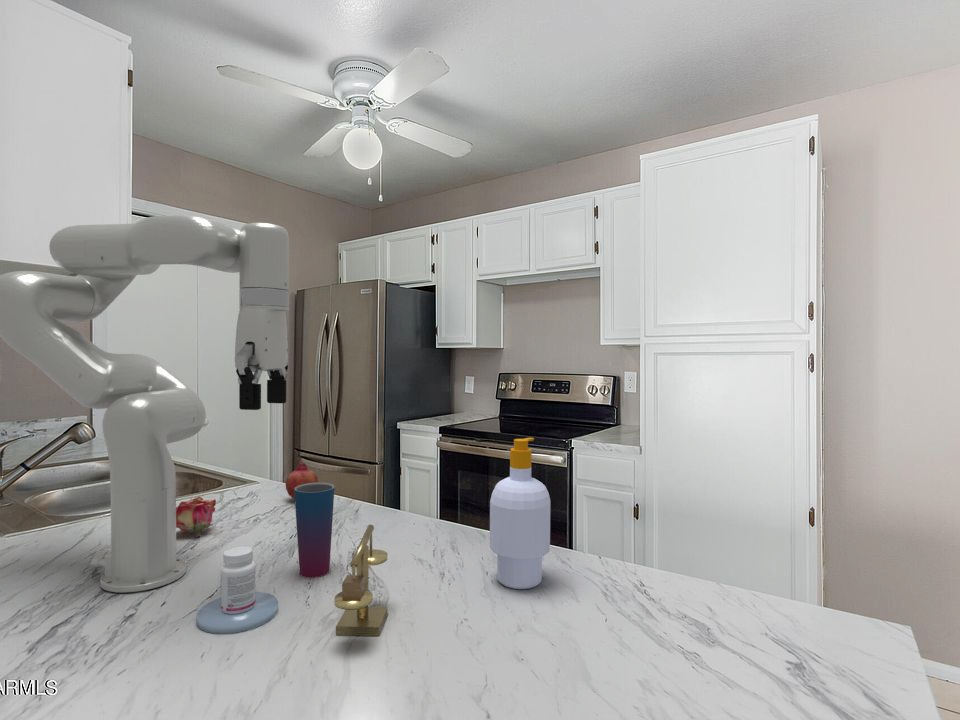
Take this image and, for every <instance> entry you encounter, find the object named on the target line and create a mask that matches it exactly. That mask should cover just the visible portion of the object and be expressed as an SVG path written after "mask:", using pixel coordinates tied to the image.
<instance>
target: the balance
mask: <svg viewBox="0 0 960 720" xmlns="http://www.w3.org/2000/svg"><path fill="white" fill-rule="evenodd" d="M374 530H375V526H374V525H373V524H369V525H367V527H366V529H365V532H364V534H363V536H362V538H361V540H360V542H359V545H358V546H357V547H356V551H355V553H354V554H353V557H352V559H351V561H350V563H349V565H350V567H351V574H349V575H346V576H345V578H344V579H343V580H342V582H341V583H342V585H341V589H342V590H341V591H339V593H336V595H334V601H333V603H334V606H335V607H336V608H338V609H341V610H344V611H343V614H342V615H341V616H340V618H339V620H338V622H337V623H336V625H335V635H336V636H362V637H364V636H365V637H366V636H367V637H379V636H380V635H381V632H382V629H383V627H384V625H385V623H386V620H387V617H388V615H389V609H388V608H389V607H388V606H370V605H371V604H372V602H373V600H374V599H373V593H372V591H370V590H369V588H370V587H369V574H370V573H369V567H372V566H379V565H381V564H384V563H385V562H387V560H388V552H387V551H385V550H383V549H375V548H374V549H373V533H374ZM368 544H369V545H368Z"/></svg>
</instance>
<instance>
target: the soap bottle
mask: <svg viewBox="0 0 960 720" xmlns="http://www.w3.org/2000/svg"><path fill="white" fill-rule="evenodd" d="M534 440H535V437H525V438H514V439H513V447H512V448H510V450H509V453H510V454H509V456H510V457H509V476H507V477H505V478H504V479H502V480H499V481H498V482H497V483H496V484H495V486H494V489H493V490H492V493H491V497H490V501H489V549H490V550H491V551H492V553H494V554H495V555H497V563H496V564H497V567H496V568H497V570H496V571H497V573H496V574H497V575H496V577H497V580H498V581H499V583H500V584H501V585H503V586H504V587H507V588H509V589H510V588H511V589H515V590H516V589H517V590H526V589H532V588H535V587H537V586H538V585H540V584H541V582H542V576H543V573H542V572H543V557H544V556H546V555H547V554H549V552H550V551H551V549H550V548H551V497H550V494H549V491H548V489H547V487H546V485H545V484H543V482H541V481H539V480H538V479H536V478H534V477H532V448H529V442H533V441H534Z"/></svg>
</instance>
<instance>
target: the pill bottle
mask: <svg viewBox="0 0 960 720" xmlns="http://www.w3.org/2000/svg"><path fill="white" fill-rule="evenodd" d="M253 553H254V552H253V548H252V547H250V546H245V545H244V546H235V547H230V548H228V549H227V550H225V551H223V554H222V555H223V558H222V560H223V564H222V565H221V567H220V597H221V610H222V611H223V612H224V613H227V614H238V613H242V612H245V611H248V610H250V609H251V608H253V607H254V605H255V603H256V596H255V592H256V563H255V561H254V560H253V559H254V554H253Z"/></svg>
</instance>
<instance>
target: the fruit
mask: <svg viewBox="0 0 960 720" xmlns="http://www.w3.org/2000/svg"><path fill="white" fill-rule="evenodd" d="M318 478H319V477H318V475H317V474H316V473H315V471H314V470H311V469H309V468H308V466H307V464H306V463H305V462H304V461H300V462H299V463H298V465H297V467H296V469H295V470H293V471H292V472H291V473H289V474H288V475H287V477H286V480H285V489H286V492H287V494H288V496H290V497H291V498H292V499H293V500H295V494H294V488H295V487H297V486H299V485H302V484H307V483H319V479H318Z"/></svg>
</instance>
